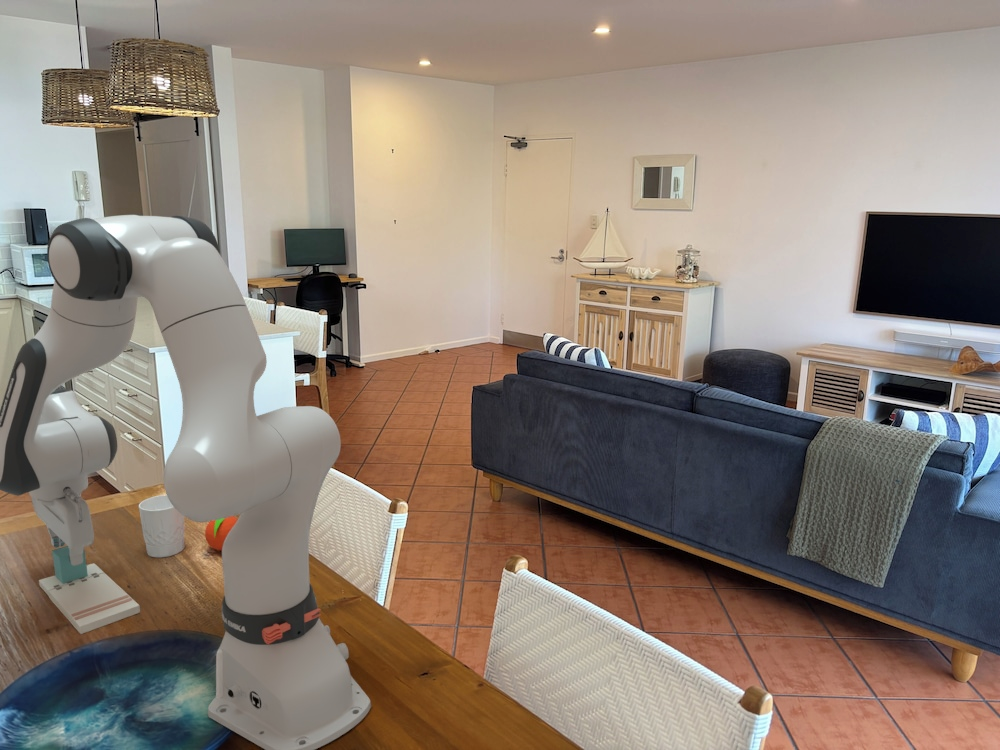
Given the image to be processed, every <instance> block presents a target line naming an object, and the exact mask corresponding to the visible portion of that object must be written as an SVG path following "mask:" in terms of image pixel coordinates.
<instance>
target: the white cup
mask: <svg viewBox="0 0 1000 750" xmlns="http://www.w3.org/2000/svg"><path fill="white" fill-rule="evenodd" d="M138 510H139V516H140V524H141V529H142V531H141V532H142V536H143V540H144V542H145V549H146V553H147V555H148V556H149V557H152V558H160V559H161V558H166V557H171V556H174V555H177V554H179V553H181V552H182V551H183V550H184V548H185V531H186V529H185V516H183V515H182V514H181V513H179V512H178V511H177V510H176V509H175V508H174V506H173V505H172V504H171V502H170V500H169V499H168V496H167V494H160V495H156V496H151V497H149V498H146V499H144V500H142V501H141V502H140V503H139V504H138Z"/></svg>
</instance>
